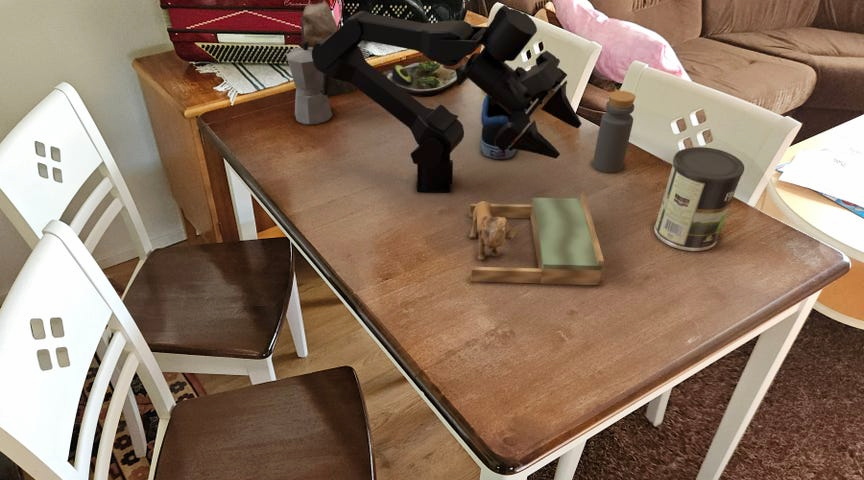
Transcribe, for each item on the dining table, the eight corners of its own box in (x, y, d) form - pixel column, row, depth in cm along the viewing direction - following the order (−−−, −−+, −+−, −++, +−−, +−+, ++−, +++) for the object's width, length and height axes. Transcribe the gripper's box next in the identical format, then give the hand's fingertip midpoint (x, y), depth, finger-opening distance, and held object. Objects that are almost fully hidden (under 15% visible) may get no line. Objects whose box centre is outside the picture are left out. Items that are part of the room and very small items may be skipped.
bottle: (588, 159, 128) (601, 90, 118) (616, 157, 128) (631, 88, 119) (598, 174, 123) (612, 103, 114) (627, 171, 124) (644, 100, 114)
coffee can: (721, 225, 109) (747, 154, 100) (713, 258, 102) (741, 184, 93) (659, 211, 113) (679, 141, 104) (647, 241, 106) (668, 169, 97)
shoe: (529, 101, 150) (534, 51, 142) (526, 163, 128) (533, 107, 120) (484, 99, 152) (487, 49, 144) (473, 160, 130) (476, 105, 122)
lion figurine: (515, 267, 102) (521, 223, 96) (485, 273, 101) (488, 228, 95) (484, 219, 113) (487, 176, 107) (456, 223, 112) (458, 181, 107)
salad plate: (424, 61, 173) (424, 44, 170) (474, 77, 163) (475, 59, 160) (375, 82, 163) (374, 65, 160) (425, 101, 153) (425, 83, 150)
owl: (310, 100, 156) (300, 18, 143) (296, 82, 165) (285, 4, 152) (357, 90, 159) (351, 10, 147) (341, 73, 168) (334, -4, 156)
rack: (470, 281, 100) (472, 257, 97) (469, 214, 114) (470, 191, 111) (598, 285, 98) (604, 260, 95) (580, 216, 112) (585, 193, 109)
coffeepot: (283, 113, 151) (271, 38, 139) (315, 102, 155) (307, 29, 144) (316, 135, 141) (307, 57, 130) (350, 122, 145) (344, 46, 134)
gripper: (497, 76, 92) (577, 144, 92) (548, 20, 102) (620, 82, 102) (463, 121, 102) (535, 182, 102) (513, 66, 111) (579, 122, 111)
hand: (569, 141), depth 104 cm, fingers open, 9 cm apart
